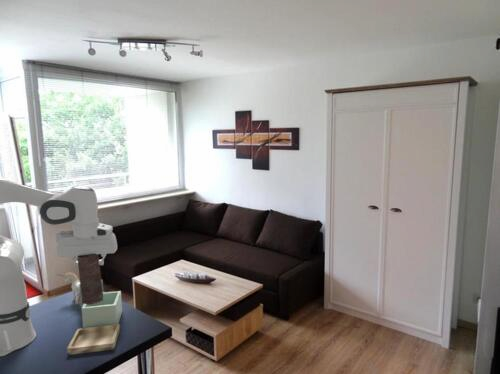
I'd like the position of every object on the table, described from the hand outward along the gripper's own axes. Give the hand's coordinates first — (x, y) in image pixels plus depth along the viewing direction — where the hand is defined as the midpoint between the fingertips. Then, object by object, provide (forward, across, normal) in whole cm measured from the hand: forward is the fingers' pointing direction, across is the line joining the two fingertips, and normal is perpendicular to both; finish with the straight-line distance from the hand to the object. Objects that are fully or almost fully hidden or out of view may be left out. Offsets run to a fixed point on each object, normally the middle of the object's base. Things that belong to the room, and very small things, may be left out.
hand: (89, 265), depth 125 cm
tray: (+31, 0, 0) cm, 31 cm away
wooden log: (+15, 0, 0) cm, 15 cm away
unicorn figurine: (+31, -18, +35) cm, 50 cm away
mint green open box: (+31, 0, +15) cm, 34 cm away
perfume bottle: (+31, -7, +26) cm, 41 cm away
